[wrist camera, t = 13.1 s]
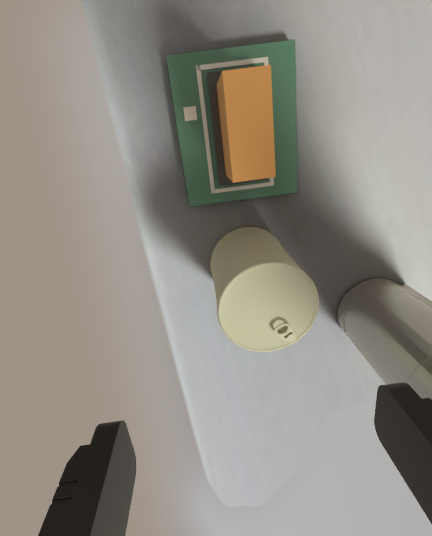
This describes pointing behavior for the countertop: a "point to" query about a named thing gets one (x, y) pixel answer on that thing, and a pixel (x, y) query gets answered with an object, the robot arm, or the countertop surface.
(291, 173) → the header board
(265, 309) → the can
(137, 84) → the countertop surface
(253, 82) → the block
